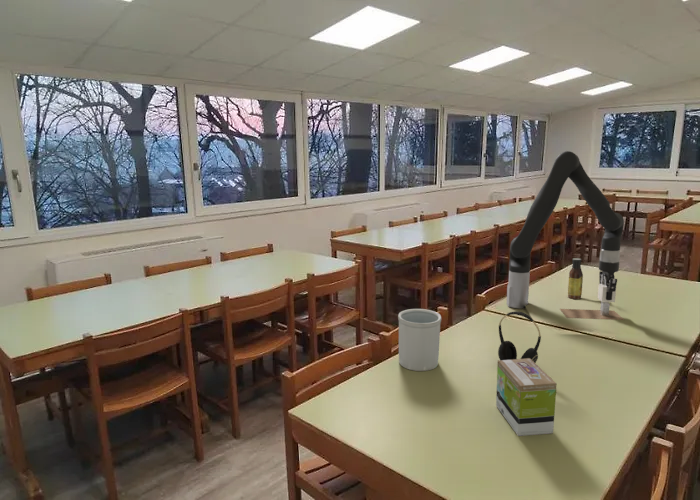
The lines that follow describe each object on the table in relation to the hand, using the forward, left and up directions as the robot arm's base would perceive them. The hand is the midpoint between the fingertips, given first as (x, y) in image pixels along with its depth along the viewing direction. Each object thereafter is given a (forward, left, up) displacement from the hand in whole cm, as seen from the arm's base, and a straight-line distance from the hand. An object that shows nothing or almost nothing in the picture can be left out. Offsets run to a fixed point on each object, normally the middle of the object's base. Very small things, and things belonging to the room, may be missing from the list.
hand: (606, 297), depth 200 cm
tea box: (-50, -87, -10) cm, 101 cm away
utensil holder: (-79, -55, -9) cm, 97 cm away
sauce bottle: (-4, +29, -9) cm, 31 cm away
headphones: (-46, -55, -9) cm, 72 cm away
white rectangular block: (0, 0, -1) cm, 1 cm away
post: (0, 0, -8) cm, 8 cm away
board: (-6, 0, -9) cm, 11 cm away
